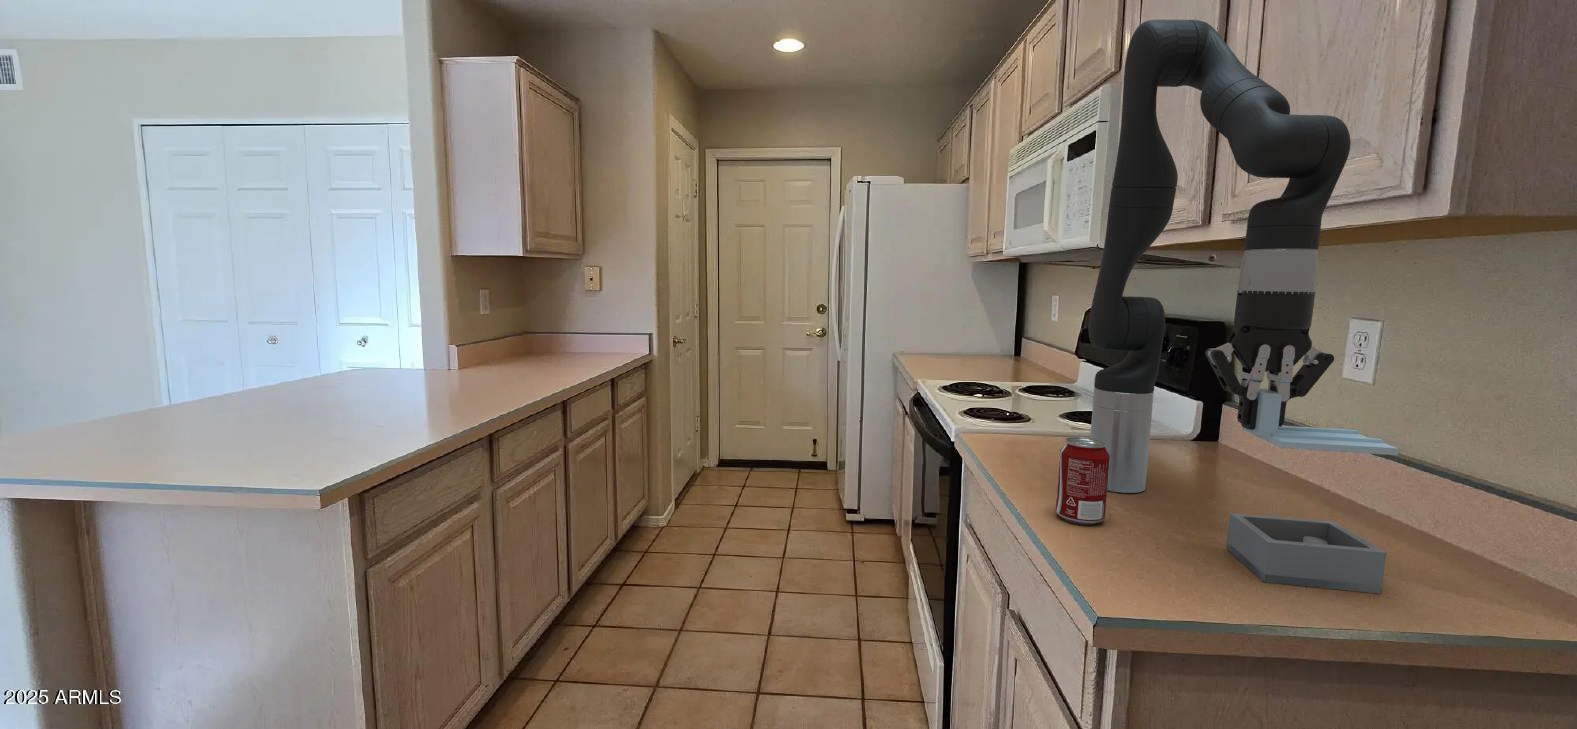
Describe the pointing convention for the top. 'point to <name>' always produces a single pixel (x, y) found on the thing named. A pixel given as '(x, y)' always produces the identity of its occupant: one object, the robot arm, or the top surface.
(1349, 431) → the lid
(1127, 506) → the top surface
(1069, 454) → the soda can
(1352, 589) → the grey shallow tray
